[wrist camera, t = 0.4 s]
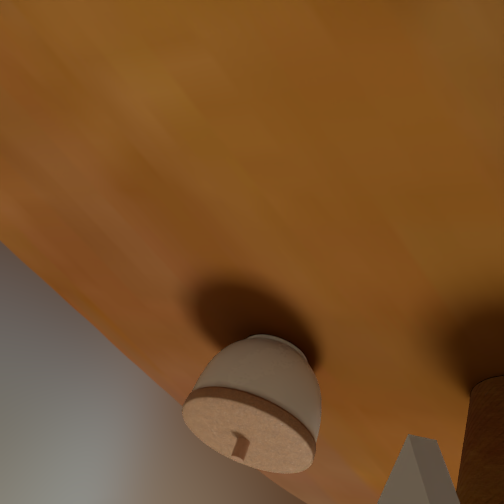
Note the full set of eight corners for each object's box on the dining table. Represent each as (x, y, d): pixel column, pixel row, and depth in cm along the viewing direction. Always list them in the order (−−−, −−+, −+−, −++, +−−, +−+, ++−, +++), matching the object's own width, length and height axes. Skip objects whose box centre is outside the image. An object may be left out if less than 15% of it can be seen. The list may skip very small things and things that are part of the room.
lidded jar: (206, 307, 38) (152, 405, 31) (330, 326, 34) (298, 442, 27) (232, 379, 44) (192, 471, 38) (338, 401, 41) (314, 509, 34)
